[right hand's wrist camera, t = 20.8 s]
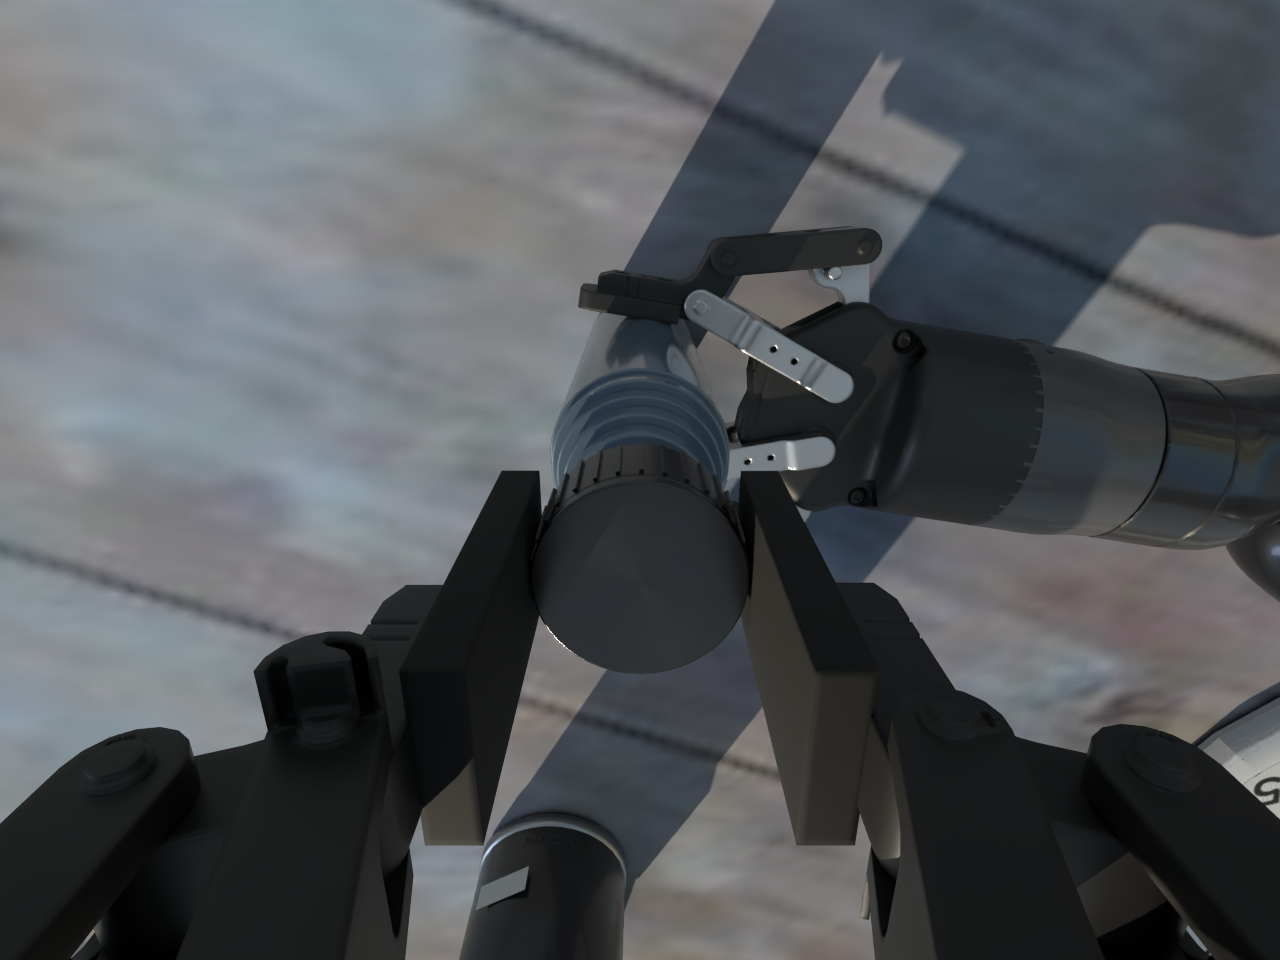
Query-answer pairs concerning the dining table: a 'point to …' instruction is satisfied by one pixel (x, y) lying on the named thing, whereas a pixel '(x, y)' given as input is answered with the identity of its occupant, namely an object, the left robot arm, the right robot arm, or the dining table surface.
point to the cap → (640, 560)
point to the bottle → (639, 397)
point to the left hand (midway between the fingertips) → (573, 367)
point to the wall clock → (1250, 757)
